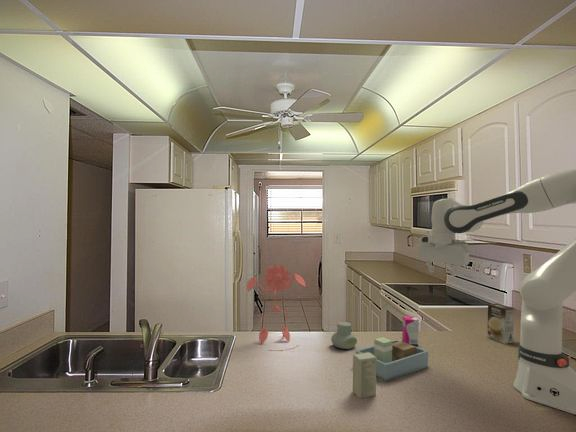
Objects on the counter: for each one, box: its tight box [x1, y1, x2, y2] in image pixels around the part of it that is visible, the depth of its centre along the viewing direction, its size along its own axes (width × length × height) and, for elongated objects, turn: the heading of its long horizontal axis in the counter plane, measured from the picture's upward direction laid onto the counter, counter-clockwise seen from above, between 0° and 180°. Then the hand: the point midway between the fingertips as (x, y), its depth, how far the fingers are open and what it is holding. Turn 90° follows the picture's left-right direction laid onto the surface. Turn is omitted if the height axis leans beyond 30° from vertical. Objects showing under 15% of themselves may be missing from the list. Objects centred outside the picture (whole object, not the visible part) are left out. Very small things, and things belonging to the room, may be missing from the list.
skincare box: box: [352, 352, 377, 399], centre depth 109 cm, size 6×4×12 cm
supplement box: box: [401, 315, 420, 346], centre depth 154 cm, size 6×6×12 cm
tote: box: [354, 339, 429, 383], centre depth 129 cm, size 15×24×6 cm, turn 124°
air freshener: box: [330, 321, 358, 350], centre depth 148 cm, size 11×8×10 cm
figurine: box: [246, 263, 307, 352], centre depth 149 cm, size 15×26×35 cm, turn 103°
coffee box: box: [486, 302, 515, 345], centre depth 161 cm, size 9×6×16 cm
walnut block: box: [392, 340, 417, 361], centre depth 133 cm, size 7×7×6 cm
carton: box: [373, 336, 393, 363], centre depth 127 cm, size 5×5×10 cm
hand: (442, 274), depth 137 cm, fingers open, 8 cm apart
